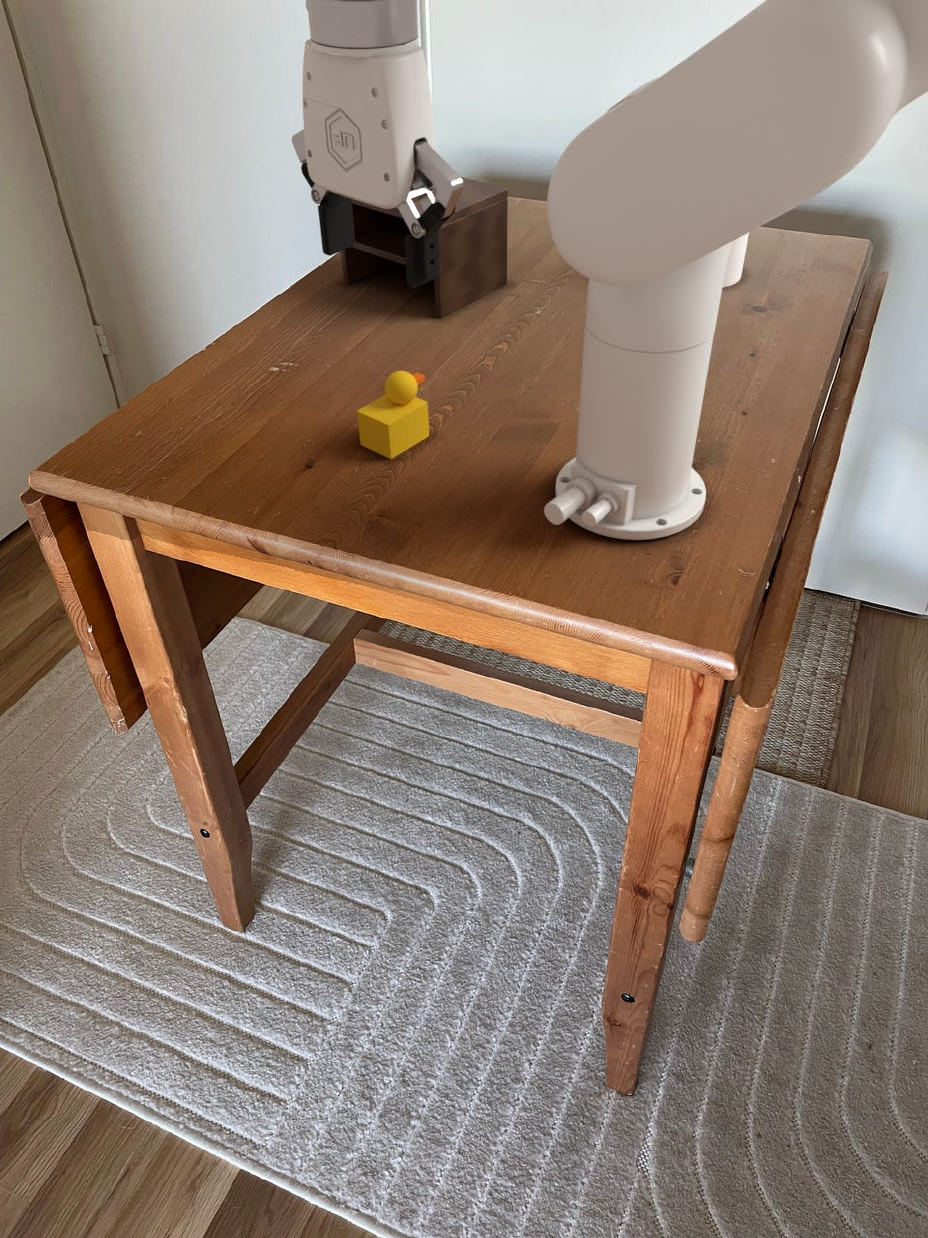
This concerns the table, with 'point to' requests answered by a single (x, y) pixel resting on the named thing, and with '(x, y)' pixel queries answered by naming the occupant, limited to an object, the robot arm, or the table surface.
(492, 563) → the table surface
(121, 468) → the table surface
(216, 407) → the table surface
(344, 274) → the shelf
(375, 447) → the duck
